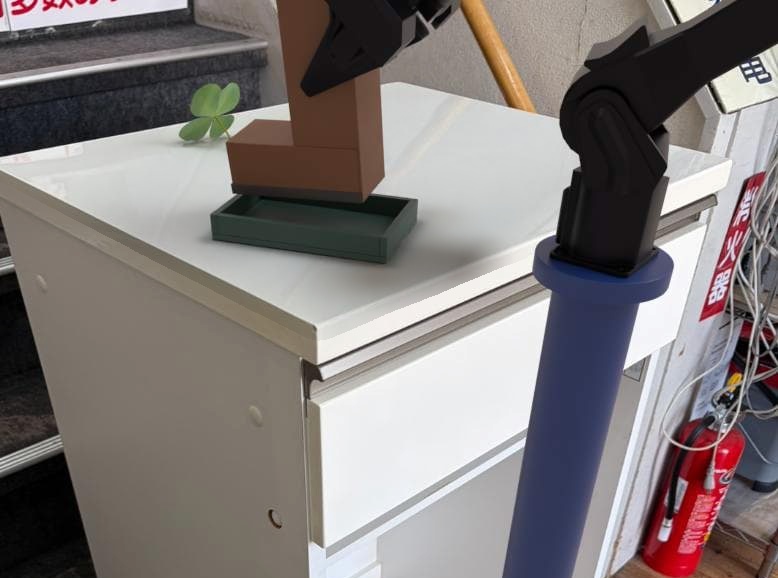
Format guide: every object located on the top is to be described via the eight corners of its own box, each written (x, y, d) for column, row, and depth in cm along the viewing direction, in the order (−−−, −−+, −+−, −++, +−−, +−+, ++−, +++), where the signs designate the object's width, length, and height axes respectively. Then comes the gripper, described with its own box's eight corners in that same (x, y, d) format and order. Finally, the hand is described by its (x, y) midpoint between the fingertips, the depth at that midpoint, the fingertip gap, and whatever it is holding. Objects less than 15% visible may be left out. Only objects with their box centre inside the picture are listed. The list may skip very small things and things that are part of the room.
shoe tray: (416, 222, 72) (418, 198, 70) (386, 264, 64) (387, 238, 63) (258, 202, 75) (256, 178, 73) (212, 239, 67) (209, 214, 66)
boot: (385, 176, 68) (376, -27, 59) (362, 203, 65) (347, -8, 55) (261, 167, 72) (233, -26, 62) (232, 193, 68) (196, -9, 58)
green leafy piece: (228, 196, 90) (194, 151, 91) (284, 146, 89) (249, 100, 89) (200, 169, 83) (163, 120, 84) (260, 113, 82) (222, 64, 82)
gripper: (430, -210, 57) (287, -26, 67) (347, -229, 44) (182, 6, 53) (528, -64, 61) (379, 91, 70) (479, -39, 47) (303, 150, 56)
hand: (318, 83), depth 62 cm, fingers closed on boot, 5 cm apart
